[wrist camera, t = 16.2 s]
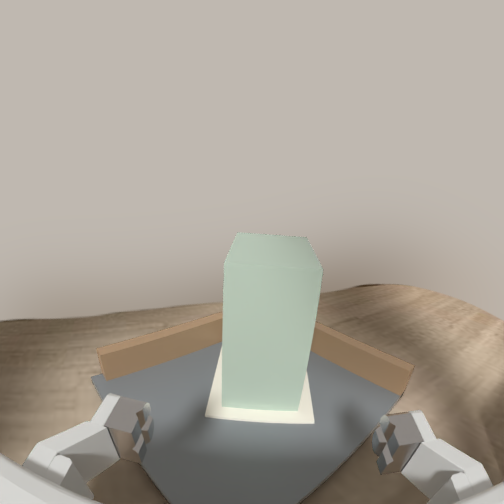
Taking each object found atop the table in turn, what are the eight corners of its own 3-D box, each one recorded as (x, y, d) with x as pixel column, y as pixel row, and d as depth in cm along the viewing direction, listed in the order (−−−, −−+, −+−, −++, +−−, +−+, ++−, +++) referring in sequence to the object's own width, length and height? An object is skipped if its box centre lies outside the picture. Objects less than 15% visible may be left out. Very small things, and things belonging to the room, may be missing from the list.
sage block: (221, 406, 18) (224, 262, 15) (232, 349, 25) (237, 232, 22) (297, 411, 18) (323, 269, 15) (291, 353, 25) (306, 237, 22)
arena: (220, 557, 8) (218, 542, 7) (92, 382, 19) (83, 351, 18) (402, 395, 20) (414, 365, 19) (263, 323, 31) (265, 297, 30)
